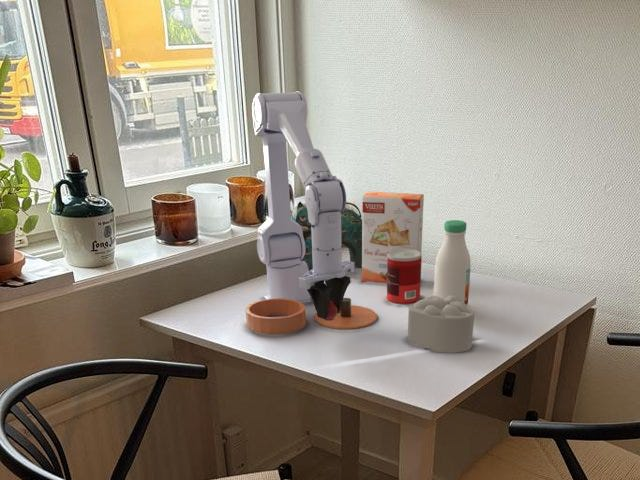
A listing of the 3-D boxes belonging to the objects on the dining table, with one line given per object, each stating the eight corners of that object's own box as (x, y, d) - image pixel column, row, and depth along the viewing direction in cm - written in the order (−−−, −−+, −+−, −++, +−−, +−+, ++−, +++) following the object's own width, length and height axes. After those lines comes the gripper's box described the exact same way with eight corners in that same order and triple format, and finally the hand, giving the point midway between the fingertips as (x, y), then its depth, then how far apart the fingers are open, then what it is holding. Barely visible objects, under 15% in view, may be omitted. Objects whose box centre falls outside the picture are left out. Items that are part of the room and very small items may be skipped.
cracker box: (361, 283, 182) (361, 195, 171) (366, 276, 187) (366, 190, 176) (417, 287, 180) (420, 198, 168) (420, 280, 184) (424, 192, 173)
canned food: (424, 297, 173) (426, 250, 167) (412, 308, 167) (413, 260, 161) (394, 293, 176) (395, 247, 170) (381, 303, 170) (382, 256, 164)
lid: (363, 306, 168) (363, 286, 166) (386, 326, 158) (386, 305, 155) (306, 314, 164) (305, 293, 162) (326, 335, 153) (326, 313, 151)
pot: (296, 312, 165) (295, 295, 163) (313, 331, 155) (312, 313, 153) (241, 320, 161) (239, 302, 159) (255, 340, 151) (254, 321, 149)
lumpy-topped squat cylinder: (429, 327, 157) (431, 287, 152) (482, 341, 150) (486, 300, 145) (401, 342, 150) (402, 301, 146) (455, 357, 143) (458, 315, 139)
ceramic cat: (299, 277, 187) (295, 194, 176) (290, 270, 192) (286, 189, 181) (369, 267, 194) (370, 187, 183) (359, 261, 199) (359, 182, 188)
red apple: (334, 315, 151) (333, 293, 149) (340, 320, 148) (339, 299, 146) (317, 317, 150) (316, 295, 148) (323, 323, 147) (322, 301, 145)
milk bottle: (457, 322, 159) (464, 228, 149) (426, 316, 163) (430, 223, 152) (472, 312, 165) (480, 220, 154) (441, 306, 168) (447, 216, 157)
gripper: (317, 259, 135) (319, 329, 142) (366, 242, 144) (366, 309, 151) (289, 252, 138) (293, 321, 146) (338, 236, 148) (340, 302, 155)
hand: (328, 314), depth 149 cm, fingers closed on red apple, 3 cm apart
